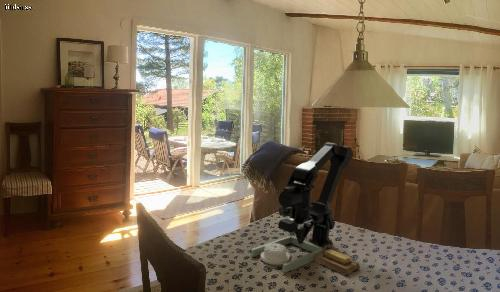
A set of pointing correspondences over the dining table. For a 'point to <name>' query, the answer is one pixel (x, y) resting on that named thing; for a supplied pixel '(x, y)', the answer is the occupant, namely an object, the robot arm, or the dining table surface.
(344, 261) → the block
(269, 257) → the mechanical component
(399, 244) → the dining table surface
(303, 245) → the green u-shaped frame
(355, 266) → the rectangular frame
